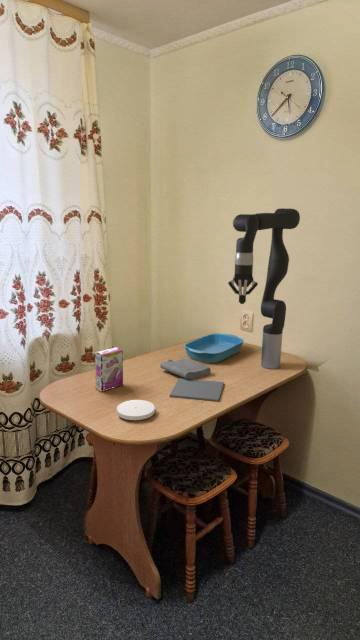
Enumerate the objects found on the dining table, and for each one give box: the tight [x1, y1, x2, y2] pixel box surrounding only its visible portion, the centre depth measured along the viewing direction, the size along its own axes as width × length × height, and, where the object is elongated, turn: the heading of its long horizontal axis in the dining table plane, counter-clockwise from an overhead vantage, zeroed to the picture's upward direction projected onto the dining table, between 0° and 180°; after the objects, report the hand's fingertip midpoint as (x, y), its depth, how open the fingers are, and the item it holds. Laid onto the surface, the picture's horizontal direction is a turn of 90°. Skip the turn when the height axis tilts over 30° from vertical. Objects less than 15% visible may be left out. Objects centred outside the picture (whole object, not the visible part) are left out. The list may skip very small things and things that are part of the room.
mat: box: [169, 377, 225, 403], centre depth 183 cm, size 19×20×1 cm
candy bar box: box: [94, 346, 124, 392], centre depth 183 cm, size 11×5×16 cm, turn 134°
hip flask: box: [159, 357, 212, 380], centre depth 203 cm, size 16×4×20 cm
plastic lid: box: [116, 399, 156, 421], centre depth 161 cm, size 14×14×2 cm
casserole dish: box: [183, 333, 244, 364], centre depth 229 cm, size 37×22×7 cm, turn 143°
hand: (242, 303), depth 186 cm, fingers closed
